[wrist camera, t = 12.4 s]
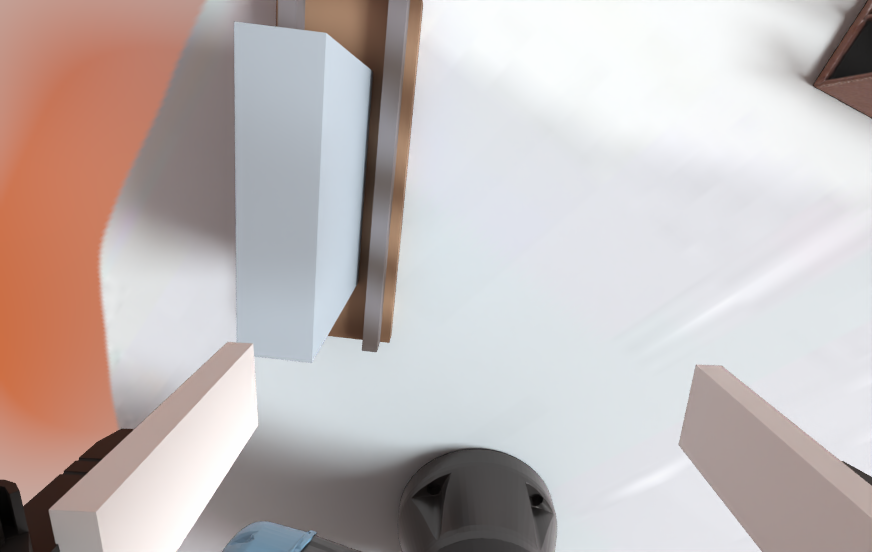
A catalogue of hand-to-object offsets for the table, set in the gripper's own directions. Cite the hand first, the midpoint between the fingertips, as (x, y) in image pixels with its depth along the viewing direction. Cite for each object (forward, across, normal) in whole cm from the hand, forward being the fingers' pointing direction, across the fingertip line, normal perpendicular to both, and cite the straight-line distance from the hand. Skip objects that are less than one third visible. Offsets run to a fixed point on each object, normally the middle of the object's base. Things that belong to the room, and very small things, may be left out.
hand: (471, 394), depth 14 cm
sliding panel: (+24, +9, -4) cm, 26 cm away
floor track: (+26, +9, -4) cm, 27 cm away
